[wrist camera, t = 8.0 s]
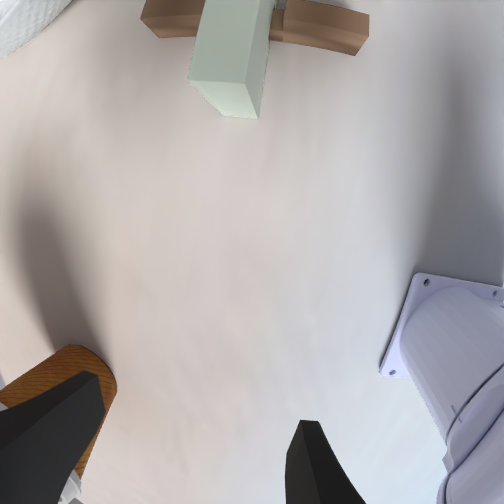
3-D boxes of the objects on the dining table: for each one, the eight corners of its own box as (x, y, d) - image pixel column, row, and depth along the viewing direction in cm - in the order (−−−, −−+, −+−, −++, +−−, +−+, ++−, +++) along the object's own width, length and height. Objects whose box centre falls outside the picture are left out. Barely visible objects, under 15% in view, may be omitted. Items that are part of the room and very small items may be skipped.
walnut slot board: (356, 36, 13) (369, 14, 10) (354, 55, 14) (368, 36, 11) (164, 19, 14) (146, -2, 11) (159, 37, 14) (140, 19, 11)
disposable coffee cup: (68, 306, 20) (-35, 391, 8) (154, 390, 21) (93, 508, 9) (37, 357, 22) (-35, 427, 10) (105, 423, 23) (55, 509, 12)
